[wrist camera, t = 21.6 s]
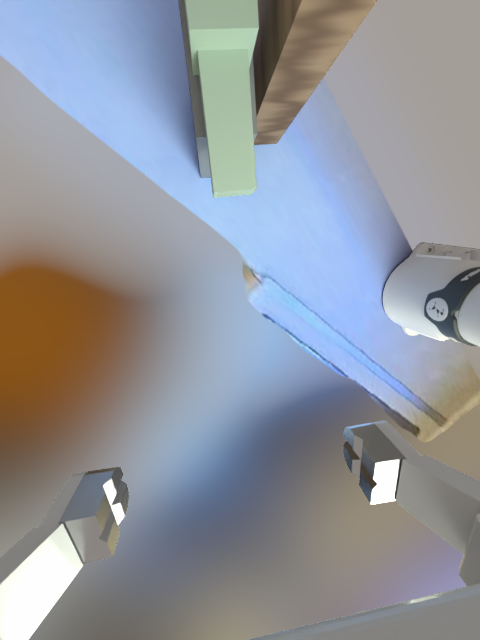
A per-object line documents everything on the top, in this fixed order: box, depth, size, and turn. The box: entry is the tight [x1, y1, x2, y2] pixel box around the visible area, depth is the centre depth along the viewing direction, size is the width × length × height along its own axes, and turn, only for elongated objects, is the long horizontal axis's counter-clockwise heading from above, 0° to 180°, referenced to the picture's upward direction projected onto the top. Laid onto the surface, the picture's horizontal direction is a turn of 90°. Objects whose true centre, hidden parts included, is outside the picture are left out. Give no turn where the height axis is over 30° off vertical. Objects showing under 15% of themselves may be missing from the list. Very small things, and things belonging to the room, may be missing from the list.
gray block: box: [179, 0, 257, 178], centre depth 29 cm, size 6×10×16 cm, turn 5°
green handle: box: [184, 0, 259, 198], centre depth 20 cm, size 5×16×5 cm, turn 5°
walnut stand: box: [253, 0, 377, 145], centre depth 24 cm, size 5×8×26 cm, turn 5°
